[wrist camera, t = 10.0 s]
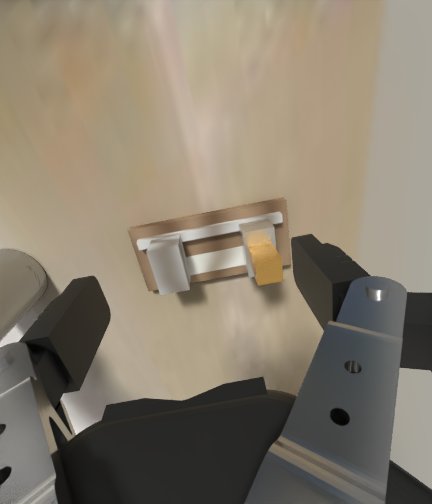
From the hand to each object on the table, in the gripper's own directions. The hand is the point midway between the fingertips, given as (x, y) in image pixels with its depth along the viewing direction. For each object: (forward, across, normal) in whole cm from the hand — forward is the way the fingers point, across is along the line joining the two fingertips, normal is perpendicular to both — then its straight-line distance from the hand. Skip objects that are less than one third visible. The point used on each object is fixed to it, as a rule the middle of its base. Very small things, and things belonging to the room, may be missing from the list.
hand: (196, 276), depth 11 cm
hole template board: (+28, 0, +11) cm, 30 cm away
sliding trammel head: (+26, -6, +11) cm, 29 cm away
